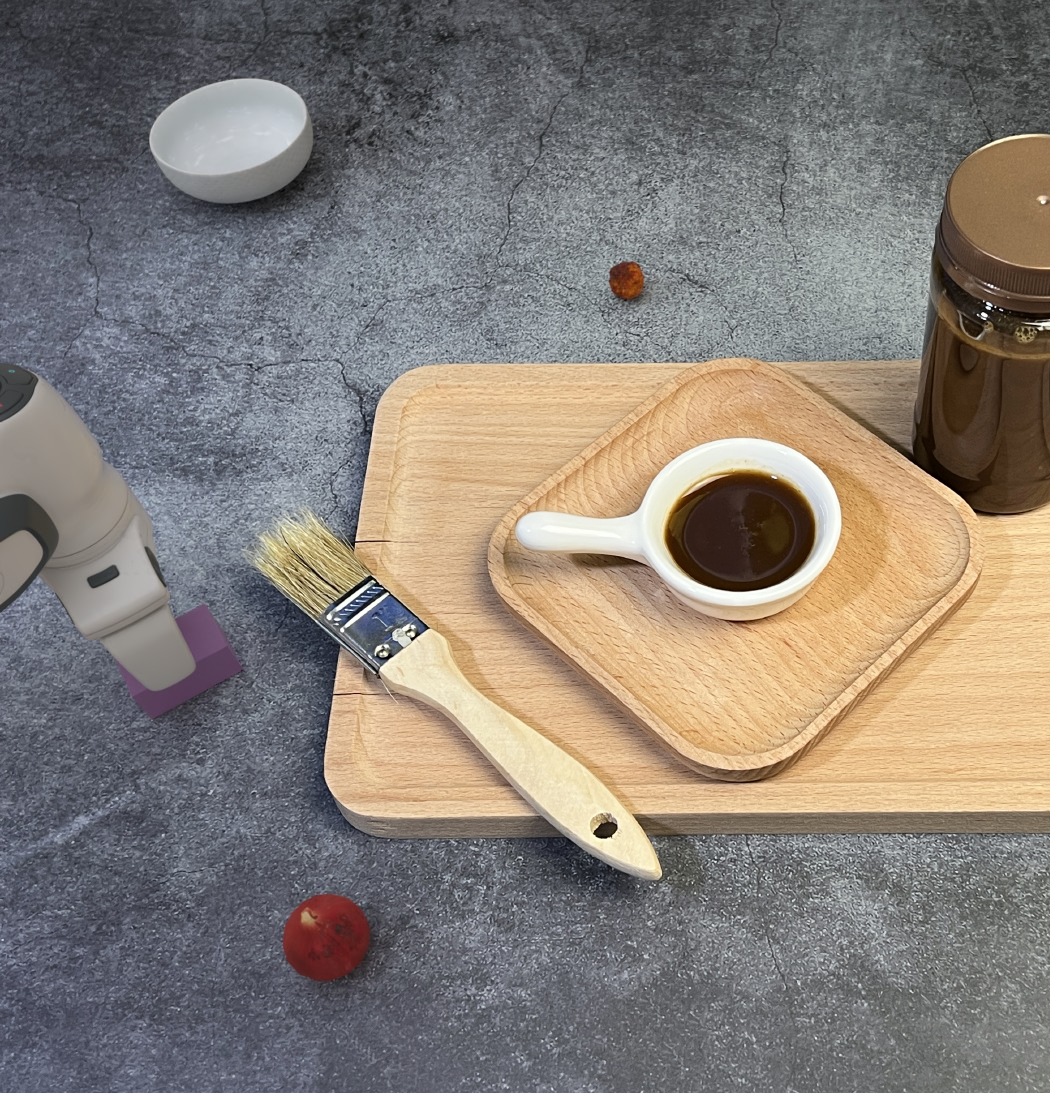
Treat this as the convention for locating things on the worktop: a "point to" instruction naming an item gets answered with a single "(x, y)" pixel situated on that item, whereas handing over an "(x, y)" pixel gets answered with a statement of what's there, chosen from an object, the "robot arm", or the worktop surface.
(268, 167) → the cereal bowl
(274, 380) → the worktop surface
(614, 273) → the meatball
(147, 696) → the block
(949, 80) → the worktop surface
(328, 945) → the red rounded lump
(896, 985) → the worktop surface
